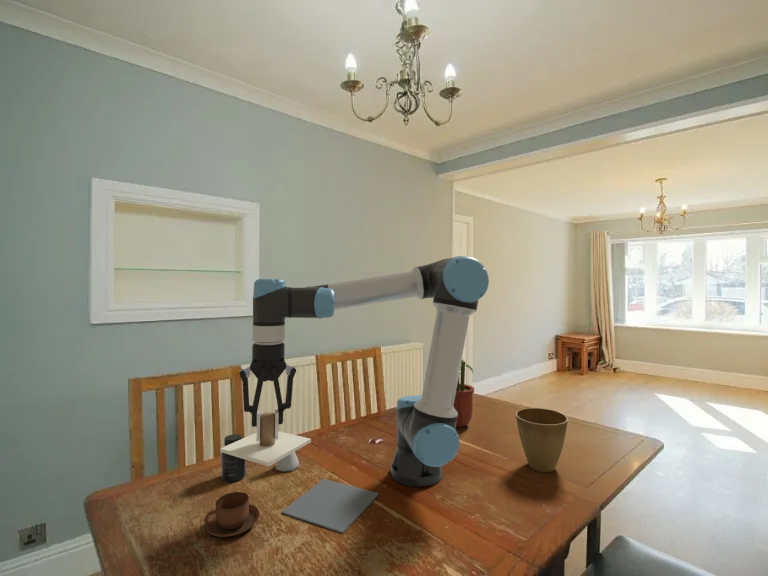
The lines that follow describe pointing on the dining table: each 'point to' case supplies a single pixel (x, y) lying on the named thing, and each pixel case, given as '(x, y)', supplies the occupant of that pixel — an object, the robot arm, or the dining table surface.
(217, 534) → the cup and saucer
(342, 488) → the mat
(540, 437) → the plant pot
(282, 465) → the flask
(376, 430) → the dining table surface
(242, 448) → the board
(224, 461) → the supplement bottle
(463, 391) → the potted plant
